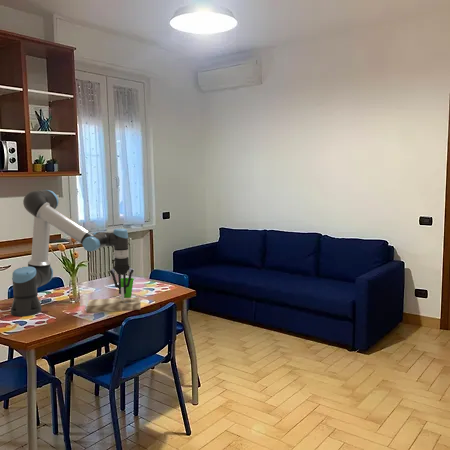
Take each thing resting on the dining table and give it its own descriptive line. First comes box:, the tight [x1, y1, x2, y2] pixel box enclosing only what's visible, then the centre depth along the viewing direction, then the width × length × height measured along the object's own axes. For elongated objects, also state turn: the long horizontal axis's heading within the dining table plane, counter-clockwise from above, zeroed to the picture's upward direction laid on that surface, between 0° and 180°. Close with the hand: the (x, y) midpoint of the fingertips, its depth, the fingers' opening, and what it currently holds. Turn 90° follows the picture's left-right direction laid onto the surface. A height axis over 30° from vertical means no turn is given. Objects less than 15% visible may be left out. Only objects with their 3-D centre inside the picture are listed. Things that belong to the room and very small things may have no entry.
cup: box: [121, 277, 135, 298], centre depth 275 cm, size 9×9×11 cm
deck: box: [86, 296, 142, 313], centre depth 255 cm, size 28×12×4 cm, turn 100°
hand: (122, 299), depth 255 cm, fingers closed
